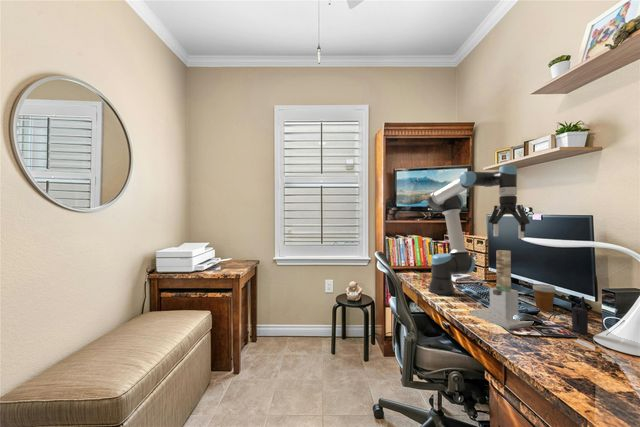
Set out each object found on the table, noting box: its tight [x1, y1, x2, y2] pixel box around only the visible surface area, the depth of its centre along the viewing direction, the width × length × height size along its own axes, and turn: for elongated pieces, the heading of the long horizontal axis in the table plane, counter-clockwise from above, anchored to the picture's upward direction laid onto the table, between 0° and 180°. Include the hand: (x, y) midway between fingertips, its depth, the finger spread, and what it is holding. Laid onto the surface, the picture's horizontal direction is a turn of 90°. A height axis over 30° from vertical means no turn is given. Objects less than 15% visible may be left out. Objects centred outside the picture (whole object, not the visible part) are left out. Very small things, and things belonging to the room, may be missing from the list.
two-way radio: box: [571, 296, 589, 335], centre depth 119 cm, size 6×4×15 cm
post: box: [495, 249, 512, 291], centre depth 135 cm, size 4×4×24 cm
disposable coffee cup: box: [532, 283, 557, 312], centre depth 147 cm, size 10×10×12 cm
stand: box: [469, 286, 541, 330], centre depth 135 cm, size 20×20×14 cm
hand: (508, 237), depth 148 cm, fingers open, 13 cm apart
